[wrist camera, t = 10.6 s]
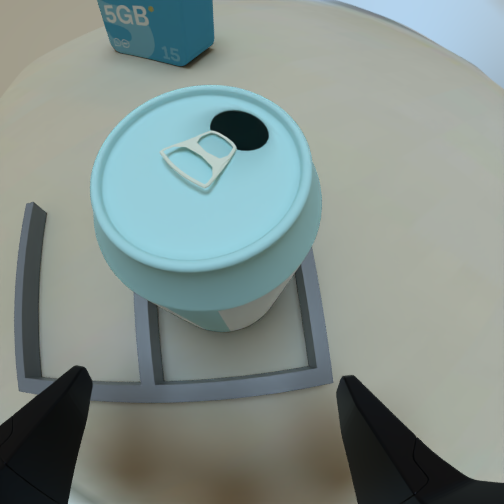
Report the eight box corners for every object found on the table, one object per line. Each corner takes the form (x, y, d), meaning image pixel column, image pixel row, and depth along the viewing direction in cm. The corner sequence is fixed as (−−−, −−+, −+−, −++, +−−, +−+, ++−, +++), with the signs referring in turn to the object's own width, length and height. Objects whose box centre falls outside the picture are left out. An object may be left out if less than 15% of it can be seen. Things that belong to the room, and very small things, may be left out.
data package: (112, 52, 26) (88, -28, 15) (138, 33, 27) (121, -43, 16) (189, 70, 24) (176, -37, 13) (216, 49, 26) (211, -48, 14)
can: (176, 218, 19) (116, 76, 8) (282, 227, 19) (328, 81, 8) (160, 325, 17) (38, 280, 6) (276, 336, 17) (343, 313, 6)
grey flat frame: (323, 379, 16) (339, 384, 14) (35, 389, 15) (9, 391, 12) (289, 179, 21) (296, 154, 18) (39, 214, 19) (19, 197, 16)
